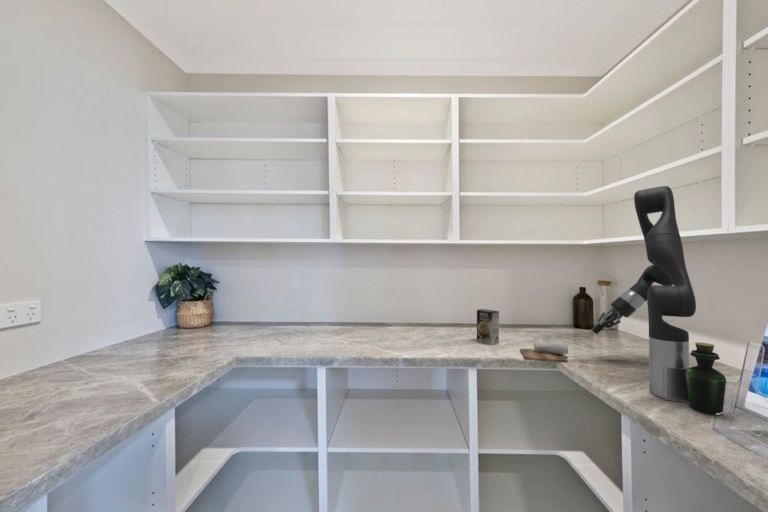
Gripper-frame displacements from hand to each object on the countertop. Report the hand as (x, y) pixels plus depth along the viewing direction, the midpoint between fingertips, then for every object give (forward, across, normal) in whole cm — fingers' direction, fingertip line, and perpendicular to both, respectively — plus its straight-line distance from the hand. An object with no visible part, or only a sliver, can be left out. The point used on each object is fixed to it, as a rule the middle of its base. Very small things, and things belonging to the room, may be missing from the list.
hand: (593, 331), depth 135 cm
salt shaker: (+12, 0, -1) cm, 12 cm away
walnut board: (+22, 0, -6) cm, 23 cm away
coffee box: (+37, -18, -21) cm, 46 cm away
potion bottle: (0, +44, +17) cm, 47 cm away
